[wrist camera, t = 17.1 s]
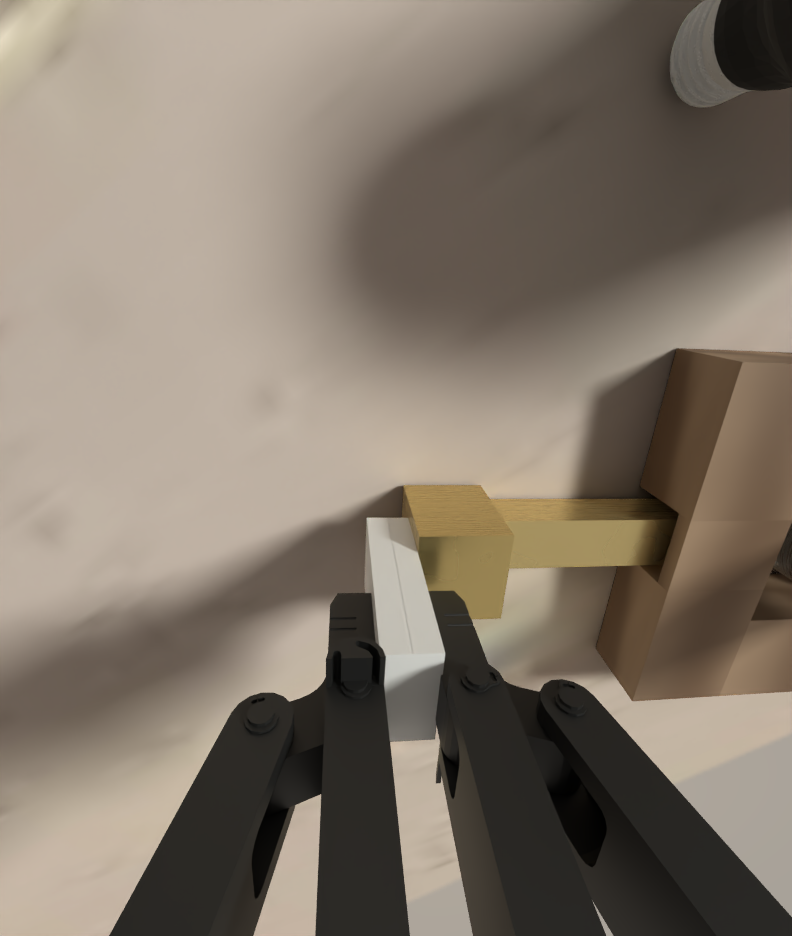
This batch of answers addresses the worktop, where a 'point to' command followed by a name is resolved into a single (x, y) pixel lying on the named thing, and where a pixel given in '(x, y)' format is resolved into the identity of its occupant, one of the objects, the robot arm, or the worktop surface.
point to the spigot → (785, 556)
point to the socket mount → (712, 537)
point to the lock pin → (525, 537)
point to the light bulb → (732, 50)
